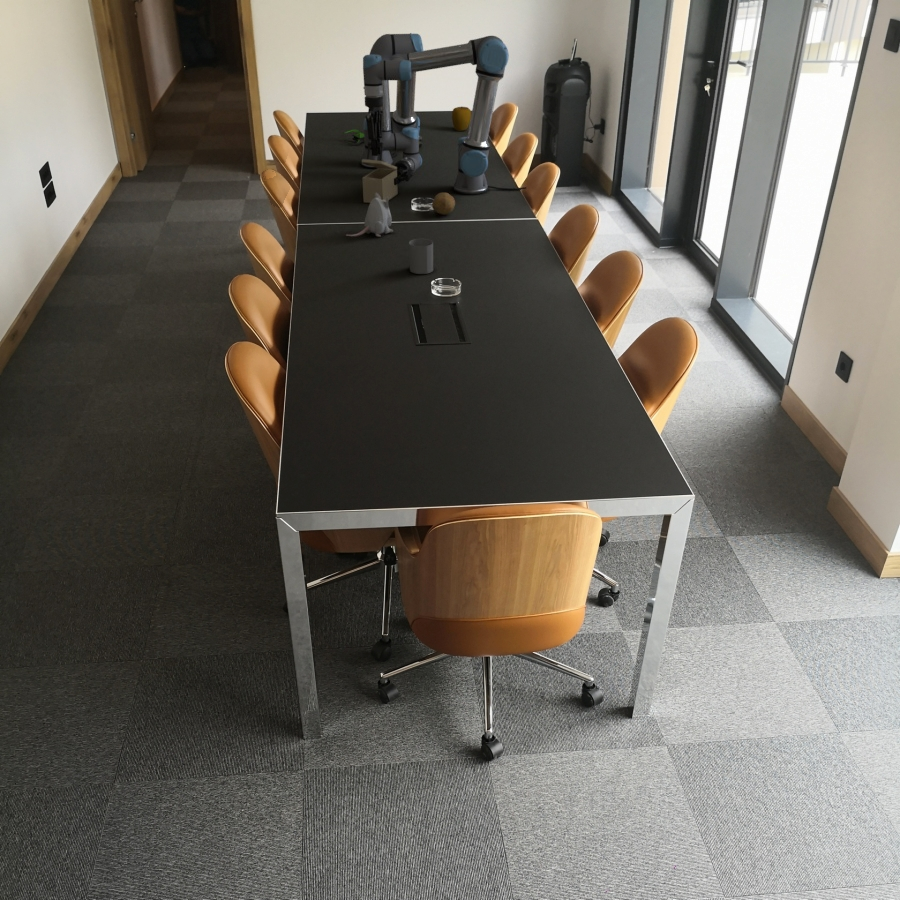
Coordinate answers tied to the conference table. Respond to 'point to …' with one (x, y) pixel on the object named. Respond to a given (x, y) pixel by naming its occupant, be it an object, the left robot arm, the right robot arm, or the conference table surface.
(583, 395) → the conference table surface
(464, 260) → the conference table surface
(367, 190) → the chest
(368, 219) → the toy
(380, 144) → the lid
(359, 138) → the green dinosaur
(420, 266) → the cup
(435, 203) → the potato
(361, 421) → the conference table surface
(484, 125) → the right robot arm
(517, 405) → the conference table surface
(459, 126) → the apple
